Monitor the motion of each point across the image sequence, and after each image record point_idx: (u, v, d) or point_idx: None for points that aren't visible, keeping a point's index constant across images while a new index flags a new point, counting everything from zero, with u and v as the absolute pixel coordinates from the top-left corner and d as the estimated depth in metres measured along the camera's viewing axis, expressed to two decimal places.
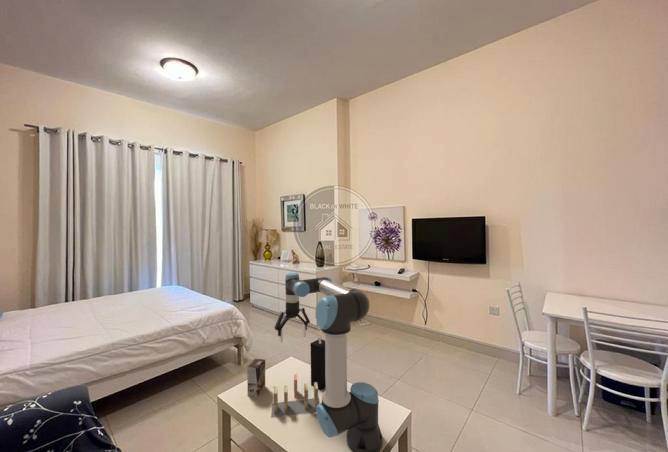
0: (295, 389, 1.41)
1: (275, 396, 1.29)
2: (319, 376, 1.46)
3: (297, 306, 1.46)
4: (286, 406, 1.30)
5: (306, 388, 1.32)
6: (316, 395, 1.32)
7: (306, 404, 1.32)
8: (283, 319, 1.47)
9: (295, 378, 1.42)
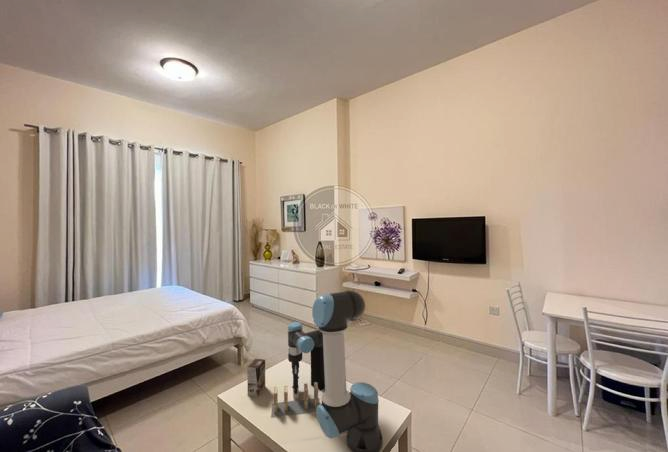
0: None
1: (275, 396, 1.29)
2: (319, 376, 1.46)
3: None
4: (286, 406, 1.30)
5: (306, 388, 1.32)
6: (316, 395, 1.32)
7: (306, 404, 1.32)
8: None
9: None
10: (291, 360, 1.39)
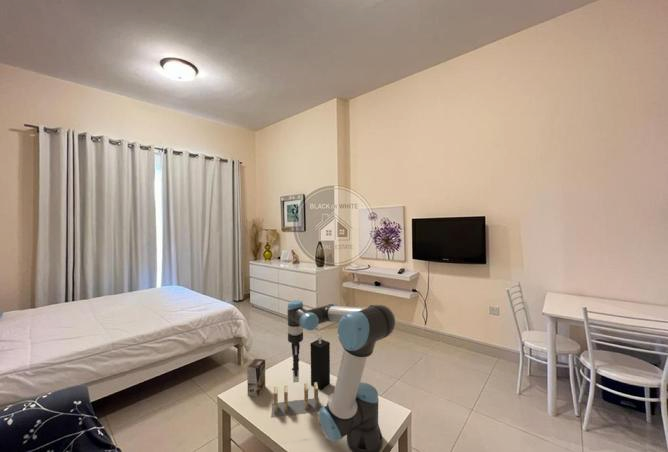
0: None
1: (275, 396, 1.29)
2: (319, 376, 1.46)
3: None
4: (286, 406, 1.30)
5: (306, 388, 1.32)
6: (316, 395, 1.32)
7: (306, 404, 1.32)
8: None
9: None
10: (291, 340, 1.29)
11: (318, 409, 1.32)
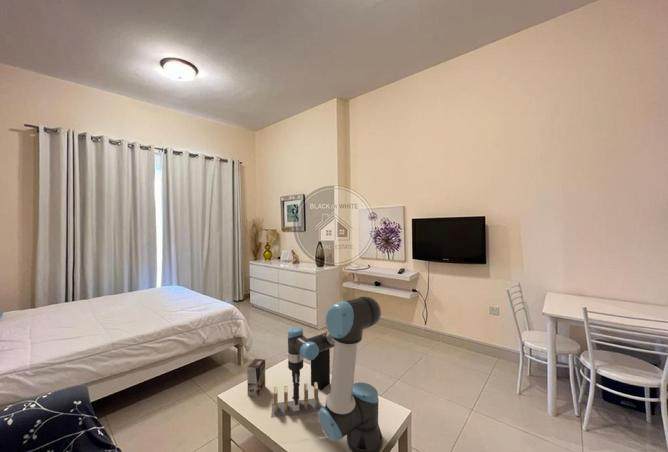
0: None
1: (275, 396, 1.29)
2: (319, 376, 1.46)
3: None
4: (286, 406, 1.30)
5: (306, 388, 1.32)
6: (316, 395, 1.32)
7: (306, 404, 1.32)
8: None
9: None
10: (291, 368, 1.29)
11: (318, 409, 1.32)
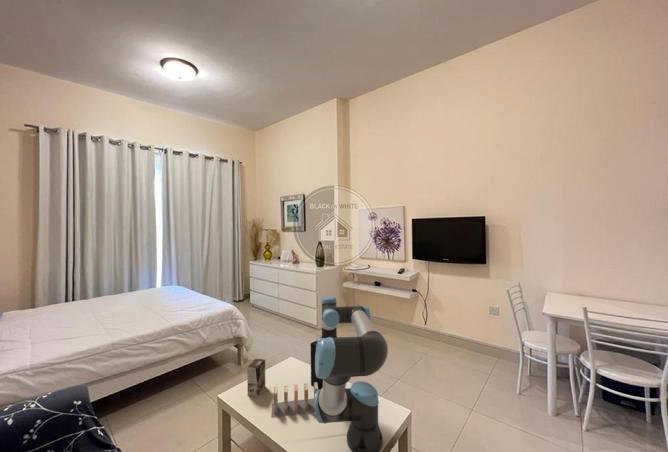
0: (296, 401, 1.31)
1: (275, 396, 1.29)
2: None
3: (333, 334, 1.32)
4: (286, 406, 1.30)
5: (306, 388, 1.32)
6: None
7: (306, 404, 1.32)
8: None
9: (295, 389, 1.32)
10: None
11: None
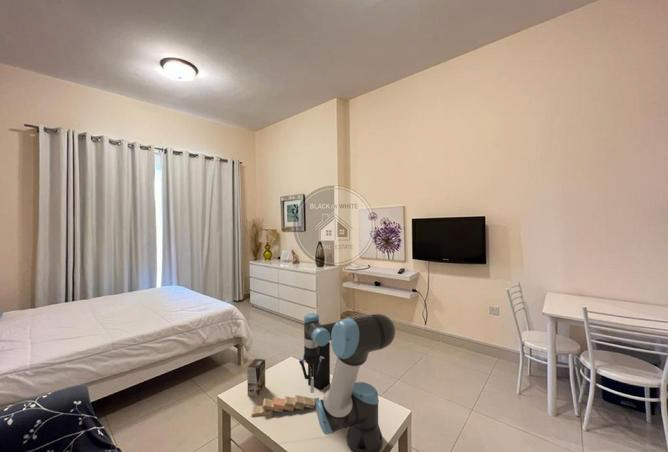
0: (284, 407, 1.30)
1: (254, 415, 1.28)
2: None
3: (315, 352, 1.31)
4: (277, 409, 1.29)
5: (284, 402, 1.31)
6: (302, 404, 1.31)
7: (299, 407, 1.31)
8: None
9: (273, 403, 1.30)
10: None
11: None
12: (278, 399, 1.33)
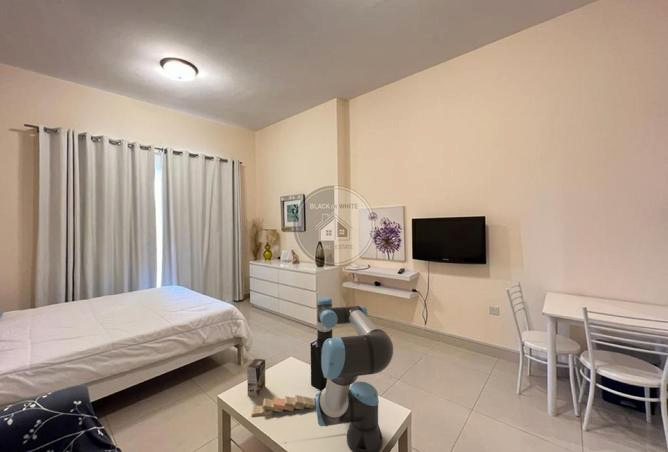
0: (284, 407, 1.30)
1: (254, 415, 1.28)
2: (319, 376, 1.46)
3: (329, 336, 1.31)
4: (277, 409, 1.29)
5: (284, 402, 1.31)
6: (302, 404, 1.31)
7: (299, 407, 1.31)
8: (321, 351, 1.34)
9: (273, 403, 1.30)
10: None
11: None
12: (278, 399, 1.33)
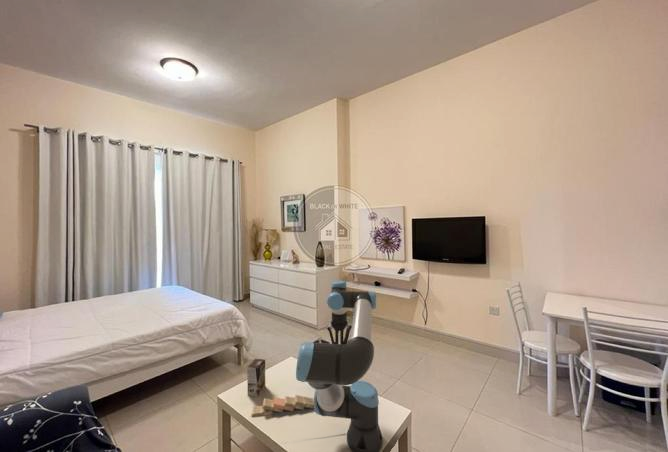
0: (284, 407, 1.30)
1: (254, 415, 1.28)
2: None
3: (343, 318, 1.31)
4: (277, 409, 1.29)
5: (284, 402, 1.31)
6: (302, 404, 1.31)
7: (299, 407, 1.31)
8: (335, 333, 1.35)
9: (273, 403, 1.30)
10: None
11: None
12: (278, 399, 1.33)
